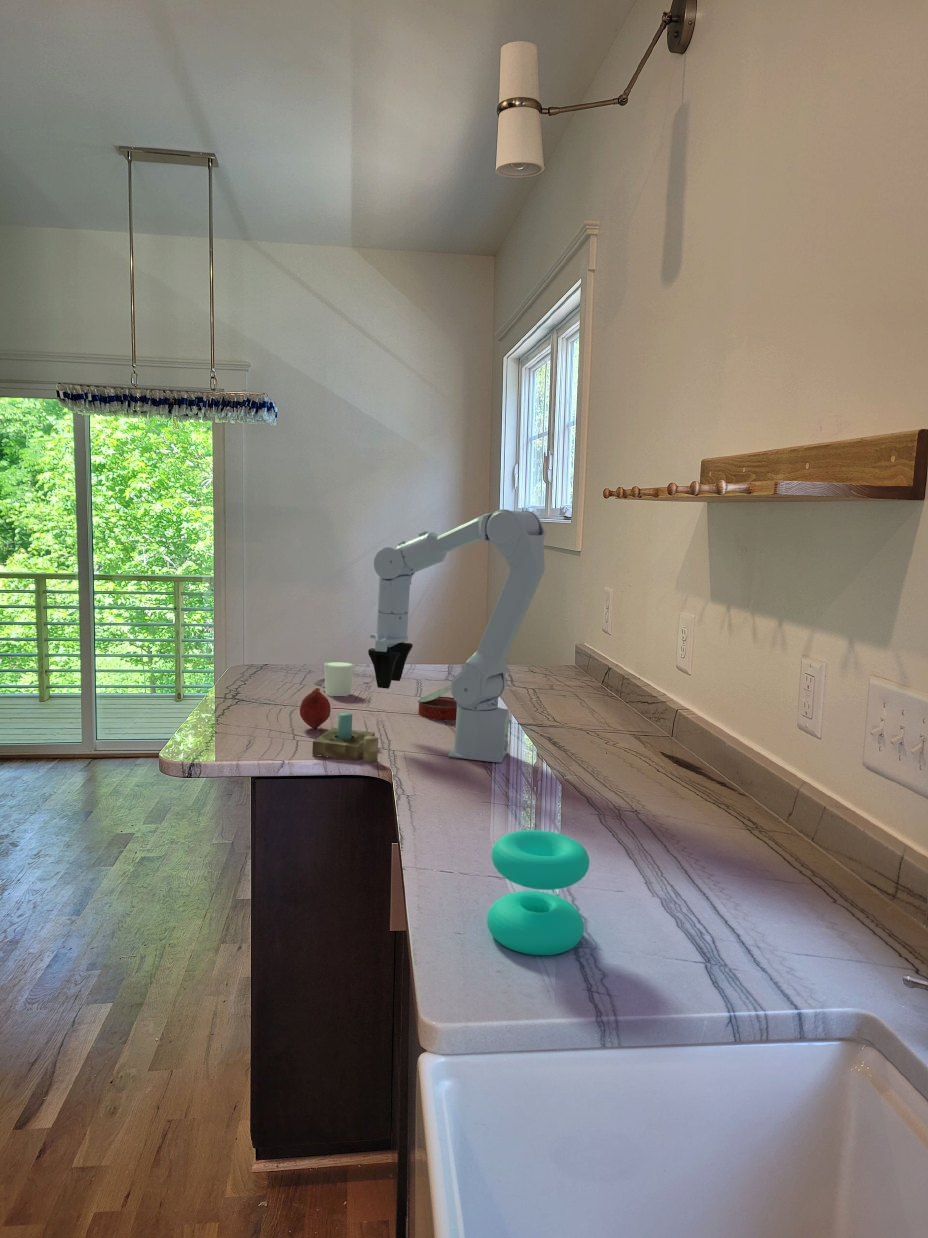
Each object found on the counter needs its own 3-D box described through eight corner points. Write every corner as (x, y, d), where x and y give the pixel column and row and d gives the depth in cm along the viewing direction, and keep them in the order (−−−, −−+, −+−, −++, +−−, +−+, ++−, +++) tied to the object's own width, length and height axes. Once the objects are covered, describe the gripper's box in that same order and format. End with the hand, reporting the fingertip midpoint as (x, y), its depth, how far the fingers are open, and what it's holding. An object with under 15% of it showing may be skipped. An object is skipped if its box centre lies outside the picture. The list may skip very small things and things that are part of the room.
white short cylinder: (359, 694, 199) (361, 664, 199) (339, 698, 194) (341, 667, 193) (336, 689, 203) (337, 659, 202) (316, 693, 197) (317, 663, 196)
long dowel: (352, 749, 154) (354, 713, 154) (348, 753, 152) (350, 716, 151) (339, 748, 155) (340, 712, 154) (335, 752, 152) (336, 715, 152)
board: (374, 746, 158) (374, 732, 157) (357, 761, 148) (357, 746, 148) (331, 741, 159) (332, 727, 159) (312, 755, 149) (312, 741, 149)
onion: (323, 734, 164) (325, 692, 163) (294, 730, 165) (295, 689, 164) (333, 726, 169) (335, 686, 168) (305, 723, 170) (307, 683, 169)
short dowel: (378, 759, 149) (380, 737, 149) (374, 763, 147) (376, 740, 147) (365, 758, 150) (366, 735, 149) (361, 762, 148) (362, 738, 147)
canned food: (443, 743, 180) (431, 704, 176) (414, 727, 188) (401, 689, 183) (482, 714, 186) (472, 675, 181) (452, 699, 193) (441, 662, 188)
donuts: (599, 865, 85) (497, 861, 84) (591, 962, 86) (490, 959, 85) (580, 828, 95) (488, 824, 94) (573, 915, 96) (482, 912, 95)
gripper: (383, 606, 170) (379, 675, 172) (360, 614, 156) (356, 689, 158) (418, 609, 169) (414, 678, 171) (398, 617, 155) (394, 693, 157)
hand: (389, 684), depth 164 cm, fingers open, 7 cm apart
